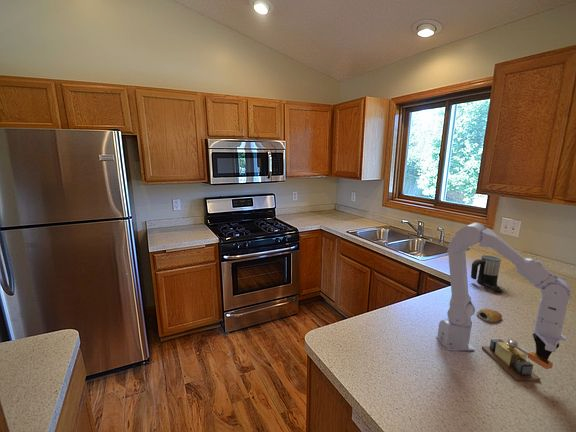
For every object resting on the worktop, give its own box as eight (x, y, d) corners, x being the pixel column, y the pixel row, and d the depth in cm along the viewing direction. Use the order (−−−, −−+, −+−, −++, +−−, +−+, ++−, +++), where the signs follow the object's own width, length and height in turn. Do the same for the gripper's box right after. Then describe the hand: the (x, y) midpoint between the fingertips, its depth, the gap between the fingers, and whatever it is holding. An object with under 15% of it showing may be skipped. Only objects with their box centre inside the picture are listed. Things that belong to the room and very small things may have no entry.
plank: (517, 380, 83) (517, 378, 83) (481, 348, 98) (482, 346, 98) (539, 380, 84) (540, 378, 84) (500, 348, 98) (501, 346, 98)
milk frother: (485, 279, 159) (489, 254, 156) (514, 291, 144) (519, 264, 142) (466, 282, 155) (470, 256, 152) (494, 294, 140) (499, 266, 137)
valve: (518, 376, 84) (521, 360, 83) (486, 348, 97) (489, 334, 96) (534, 376, 85) (537, 360, 84) (500, 348, 97) (503, 334, 96)
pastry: (491, 312, 123) (492, 304, 122) (506, 321, 117) (508, 312, 116) (474, 315, 120) (476, 307, 120) (489, 324, 114) (491, 315, 113)
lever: (504, 343, 91) (505, 339, 90) (510, 342, 91) (511, 338, 91) (545, 369, 79) (546, 364, 79) (552, 368, 80) (553, 363, 80)
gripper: (575, 335, 73) (564, 380, 76) (563, 312, 85) (554, 352, 87) (539, 326, 77) (530, 369, 80) (533, 305, 89) (525, 343, 91)
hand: (541, 359), depth 84 cm, fingers closed, pressing on lever
